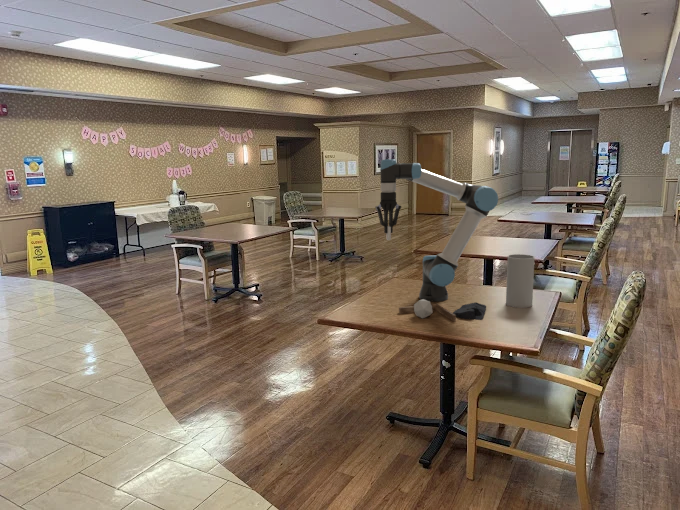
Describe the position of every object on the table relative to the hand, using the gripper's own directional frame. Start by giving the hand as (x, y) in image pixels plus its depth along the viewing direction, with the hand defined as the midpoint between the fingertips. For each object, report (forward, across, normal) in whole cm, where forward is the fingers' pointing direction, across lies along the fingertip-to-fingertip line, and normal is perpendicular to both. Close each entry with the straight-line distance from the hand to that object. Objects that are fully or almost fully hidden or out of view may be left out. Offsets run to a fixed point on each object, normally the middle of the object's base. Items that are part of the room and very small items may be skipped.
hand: (388, 239), depth 256 cm
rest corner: (+34, -11, +22) cm, 42 cm away
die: (+31, -5, +22) cm, 38 cm away
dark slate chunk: (+35, -34, +22) cm, 53 cm away
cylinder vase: (+35, -63, +17) cm, 74 cm away
